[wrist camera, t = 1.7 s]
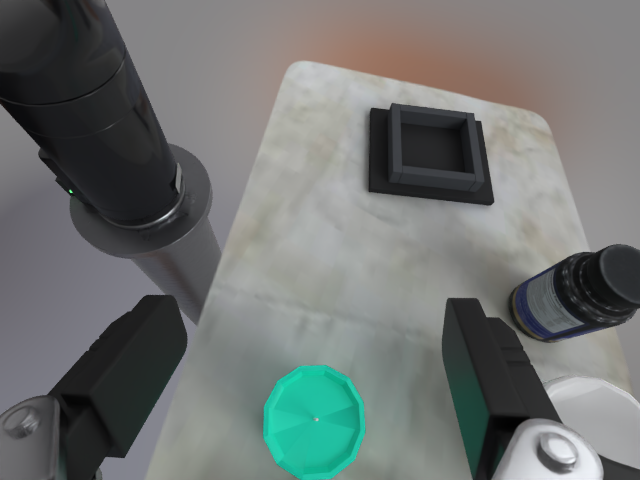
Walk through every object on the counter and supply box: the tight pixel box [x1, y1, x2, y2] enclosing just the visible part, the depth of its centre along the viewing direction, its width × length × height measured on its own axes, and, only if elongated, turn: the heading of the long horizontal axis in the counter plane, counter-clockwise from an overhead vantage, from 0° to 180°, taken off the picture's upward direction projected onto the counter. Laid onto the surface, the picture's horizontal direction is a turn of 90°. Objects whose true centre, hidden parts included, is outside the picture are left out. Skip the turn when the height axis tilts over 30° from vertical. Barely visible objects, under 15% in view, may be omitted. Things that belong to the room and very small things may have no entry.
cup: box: [542, 375, 640, 469], centre depth 26 cm, size 10×10×9 cm
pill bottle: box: [510, 244, 640, 343], centre depth 31 cm, size 6×6×11 cm
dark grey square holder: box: [369, 103, 494, 205], centre depth 42 cm, size 14×12×3 cm
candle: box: [263, 365, 365, 480], centre depth 25 cm, size 6×6×12 cm
